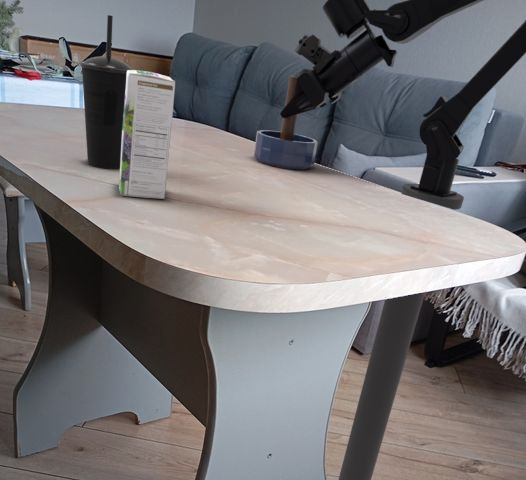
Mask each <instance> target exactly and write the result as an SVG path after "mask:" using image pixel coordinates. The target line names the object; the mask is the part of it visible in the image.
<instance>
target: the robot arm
mask: <svg viewBox="0 0 526 480" xmlns="http://www.w3.org/2000/svg"><path fill="white" fill-rule="evenodd" d="M484 1H485V0H404V1H400V2H396V3H394V4H391V5H390V6H389V7H387V9H375V8H374V9H371V7H370V6H369V4H368V3H367V1H366V0H327V1H326V2H325V3H324V4H323V6H322V10H323V12H324V13H325V15H326V17H327V19H328V20H329V22H330V25H331V26H332V28H333V29H334V31H335V33H336V34H337V36H338V38H340V39H341V38H345V37H346V39H347V40H351V39H352V40H351V41H350V42H348V43H347V44H346V45H345V46H344V47H342V48H341V49H338V50H337V49H334V50H333V51H332V52H331V51H330V50H329V49H328V48H326V47H325V46H324V45H322V44H321V43H322V40H321V38H318V37H317V36H316V35H315V34H310V35H309V34H304V35H303V37H302V38H300V39H299V40H298V44H297V46H296V48H295V49H294V52H295V53H296V54H298V55H299V56H302V57H304V59H306V60H307V61H308V62H309V63H311V64H312V65H314V66H312V69H310V68H302V69H301V70H300V71H299V72H298V73H297V74H295V75H294V76H295V77H296V79H297V81H298V91H297V92H296V94H295V95H294V96H293V98H292V99H291V100H290V101H289V103H288V104H287V105H286V106H285V105H284V107H283V109H282V110H281V111H280V113H279V114H280V116H281V118H282V119H283V118H286V117H289V116H293V115H296V114H298V115H301V114H303V113H308V112H311V111H313V110H314V111H315V110H318V109H320V108H321V109H322V108H324V107H327V103H326V102H327V101H328V98H329V101H328V103H329V104H330V105H333V104H335V103H336V102H337V101H338V100H340V99H341V98H342V93H343V91H344V90H345V89H347V88H348V87H349V86H350V85H352V84H354V83H357V82H358V81H359V80H360V78H361V77H362V76H363V75H365V74H367V73H368V72H369V71H370V70H372V69H373V68H374V67H376V66H377V65H378V64H380V63H381V62H382V61H384V62H385V64H386V65H387V67H389V68H394V67H395V62H396V61H395V60H396V57H397V55H398V51H397V50H396V49H391V48H390V46H389V44H388V43H387V41H386V39H387V40H389V41H391V42H394V43H396V44H400V45H404V44H408V43H410V42H412V41H413V40H415V39H417V38H418V37H420V36H421V35H423V34H424V33H426V32H428V30H430V29H431V28H433V26H435V25H436V24H438V23H439V22H440V21H442V20H443V19H445V18H448V17H450V16H452V15H454V14H457V13H459V12H461V11H463V10H466V9H468V8H471V7H473V6H475V5H477V4H479V3H481V2H484ZM371 26H374V27H376V28H378V29H380V30H382V33H383V35H384V36H383V35H382V34H380V35H377V36H376V34H375V33H374V31H373V30H372V27H371ZM363 30H364V31H363ZM362 31H363V32H362ZM384 37H385V38H386V39H385V38H384ZM353 38H354V39H353ZM525 55H526V19H525V20H524V21H523V23H522V24H520V26H519V27H518V28H517V29H516V30H515V31H514V32H513V34H512V35H510V37H509V38H508V39H507V40H506V41H505V42H504V43H503V44H502V45H501V47H499V48H498V50H497V51H496V52H495V53H494V54H493V55H492V56H491V57H490V58H488V59H489V60H487V61H486V63H485V64H484V65H482V67H481V68H480V69H479V70H478V71H477V72H476V73H475V74H474V75H473V77H471V78H470V79H469V81H467V83H466V84H465V85H464V86H463V87H462V89H460V90H459V92H458V93H456V94H455V95H454V96H452V97H451V98H449V99H448V98H447V97H446V95H442V96H439V98H438V99H437V100H436V102H435V104H434V105H433V106H432V108H431V109H430V110H428V111H427V112H425V113H423V114H422V117H424V119H423V121H422V122H421V123H420V126H419V138H420V140H421V143H423V145H425V148H426V156H425V158H424V159H425V160H424V162H423V168H422V170H421V171H422V172H421V175H420V179H419V183H418V184H419V185H411V187H410V188H412V189H415V190H419V191H422V192H426V193H429V194H433V195H436V196H439V197H446V196H452V195H456V194H457V193H458V192H457V191H454V190H452V186H453V182H454V179H455V175H456V172H457V168H458V165H459V162H460V160H459V159H458V158H459V156H460V155H461V153H462V152H463V150H464V149H465V146H464V145H463V143H462V141H461V140H460V138H459V135H458V134H457V133H458V132H459V130H460V129H461V127H462V126H463V125H464V123H466V120H467V119H468V117H469V116H470V114H471V112H472V111H473V110H474V108H475V107H476V106H477V105H478V104H479V103H481V101H482V100H483V99H484V98H485V97H486V96H487V95H488V93H490V91H491V90H493V89H494V87H495V86H496V85H498V83H499V82H500V81H501V80H502V79H503V78H504V77H505V76H506V75H507V73H509V72H510V71H511V69H513V68H514V66H515V65H516V64H517V63H518V62H519V61H520V60H521V59H522V58H523V57H524V56H525Z"/></svg>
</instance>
